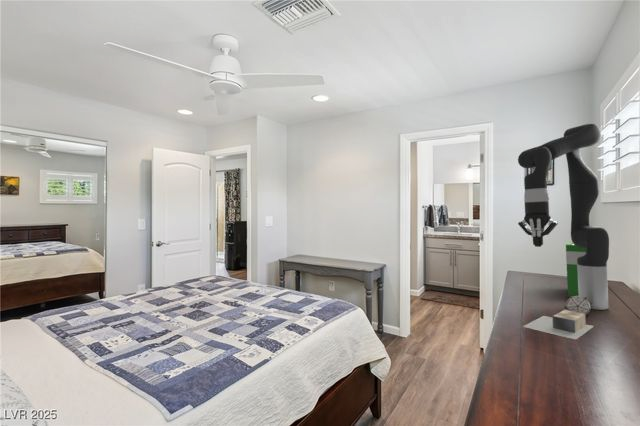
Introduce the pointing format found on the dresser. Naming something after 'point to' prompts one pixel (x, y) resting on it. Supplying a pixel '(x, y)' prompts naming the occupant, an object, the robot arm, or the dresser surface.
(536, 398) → the dresser surface
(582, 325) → the maple block
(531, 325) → the felt mat
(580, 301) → the game die
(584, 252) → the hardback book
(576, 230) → the robot arm
